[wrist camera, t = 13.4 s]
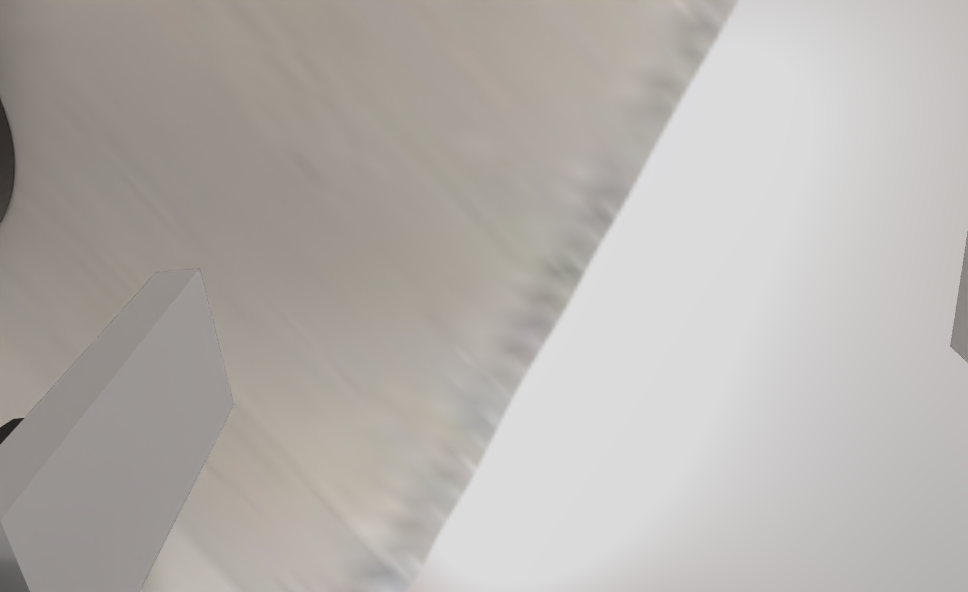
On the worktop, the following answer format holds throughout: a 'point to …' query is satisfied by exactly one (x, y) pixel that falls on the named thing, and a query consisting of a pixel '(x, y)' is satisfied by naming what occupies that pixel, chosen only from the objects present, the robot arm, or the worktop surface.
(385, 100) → the worktop surface
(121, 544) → the robot arm
